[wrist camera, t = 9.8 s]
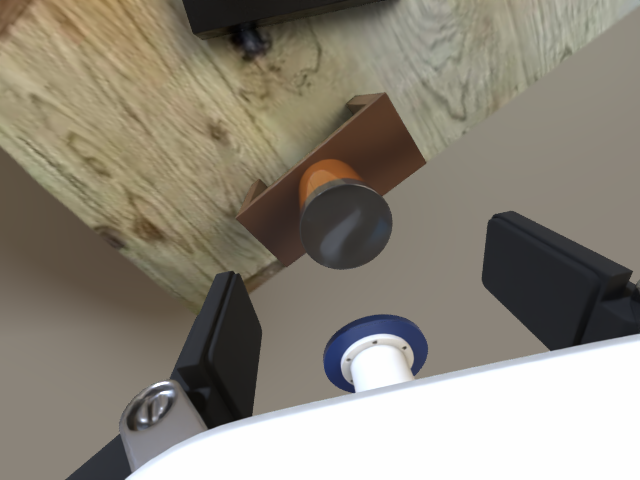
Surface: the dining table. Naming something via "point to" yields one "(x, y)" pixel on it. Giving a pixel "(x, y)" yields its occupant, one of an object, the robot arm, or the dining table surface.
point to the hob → (255, 13)
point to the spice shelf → (345, 145)
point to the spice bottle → (341, 216)
